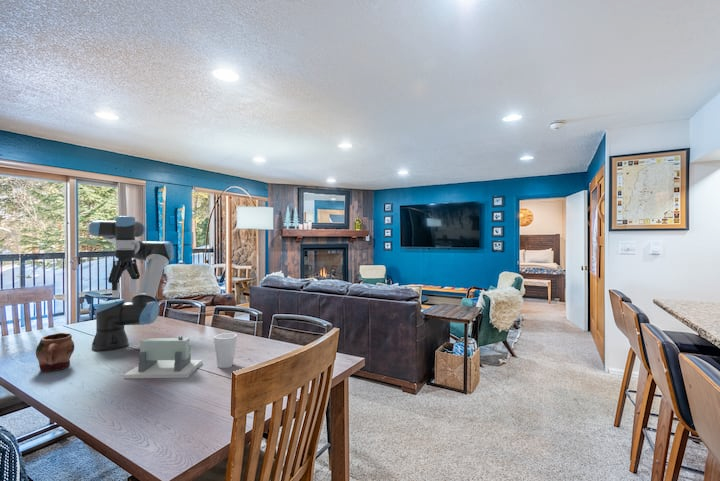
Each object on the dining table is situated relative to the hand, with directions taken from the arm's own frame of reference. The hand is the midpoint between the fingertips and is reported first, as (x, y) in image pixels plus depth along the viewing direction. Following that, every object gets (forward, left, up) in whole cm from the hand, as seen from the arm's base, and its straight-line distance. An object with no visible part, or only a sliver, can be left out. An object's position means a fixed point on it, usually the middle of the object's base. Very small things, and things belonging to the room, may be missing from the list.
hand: (124, 295), depth 162 cm
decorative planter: (+15, -19, -29) cm, 38 cm away
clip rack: (+18, +27, -29) cm, 43 cm away
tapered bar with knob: (+18, +27, -24) cm, 40 cm away
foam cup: (+13, +50, -29) cm, 59 cm away
